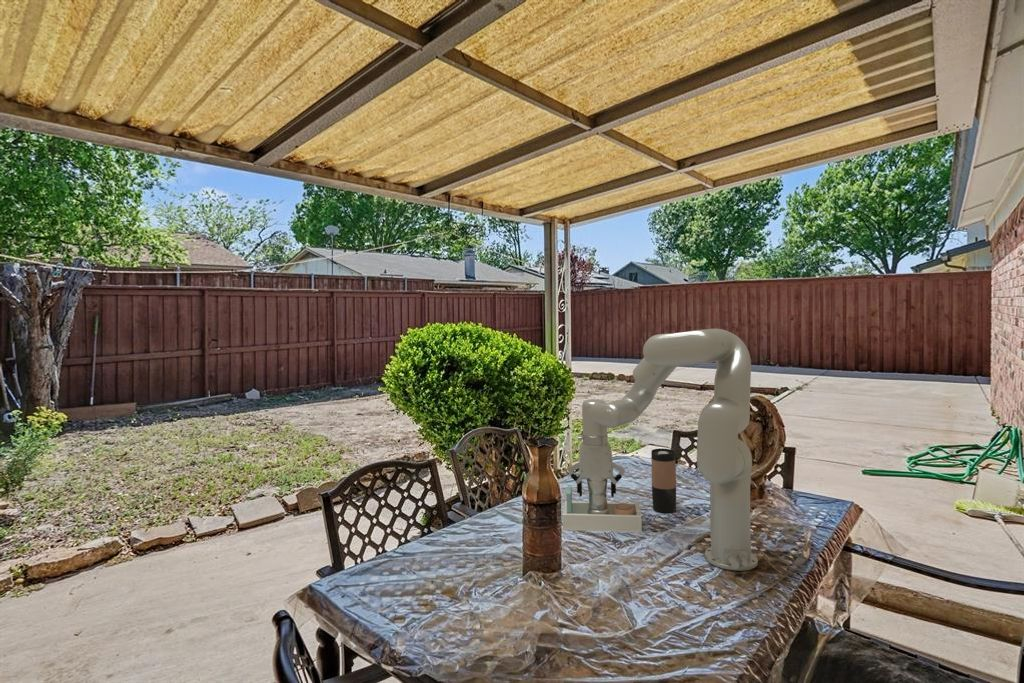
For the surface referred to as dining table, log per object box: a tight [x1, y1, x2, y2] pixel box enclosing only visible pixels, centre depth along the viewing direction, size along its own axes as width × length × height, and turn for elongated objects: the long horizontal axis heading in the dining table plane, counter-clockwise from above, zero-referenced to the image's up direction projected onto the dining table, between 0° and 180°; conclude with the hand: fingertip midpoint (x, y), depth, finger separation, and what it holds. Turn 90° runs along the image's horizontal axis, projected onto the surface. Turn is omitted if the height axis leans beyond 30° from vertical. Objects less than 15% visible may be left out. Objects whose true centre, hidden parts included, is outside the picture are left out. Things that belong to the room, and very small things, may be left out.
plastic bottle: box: [586, 474, 609, 515], centre depth 160 cm, size 6×7×20 cm
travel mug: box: [650, 448, 677, 515], centre depth 170 cm, size 8×8×20 cm
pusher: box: [566, 484, 573, 514], centre depth 162 cm, size 9×1×10 cm, turn 171°
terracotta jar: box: [614, 502, 634, 515], centre depth 160 cm, size 6×6×6 cm
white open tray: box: [562, 500, 643, 533], centre depth 161 cm, size 12×23×6 cm, turn 81°
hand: (596, 495), depth 161 cm, fingers open, 9 cm apart
